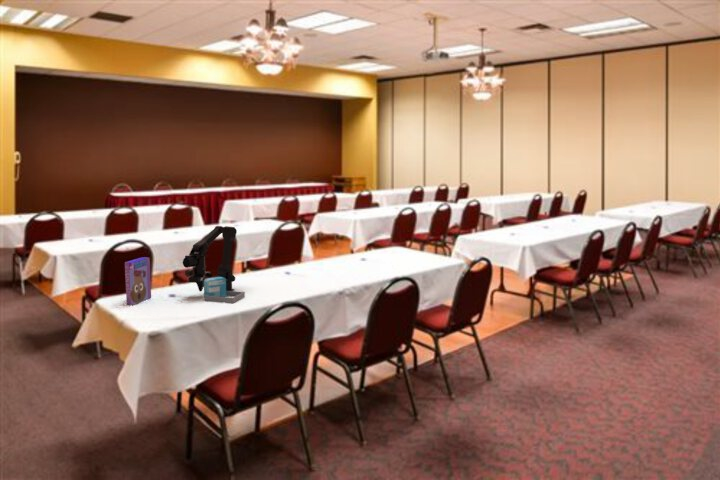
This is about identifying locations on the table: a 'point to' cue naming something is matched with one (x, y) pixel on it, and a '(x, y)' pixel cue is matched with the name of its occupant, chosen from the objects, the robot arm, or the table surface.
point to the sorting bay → (235, 298)
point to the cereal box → (138, 280)
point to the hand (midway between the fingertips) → (200, 291)
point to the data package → (215, 287)
